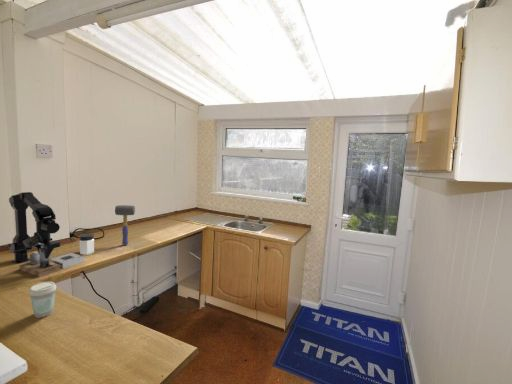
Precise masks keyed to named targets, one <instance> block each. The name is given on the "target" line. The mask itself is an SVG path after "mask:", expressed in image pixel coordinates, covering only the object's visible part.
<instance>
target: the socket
mask: <svg viewBox="0 0 512 384" xmlns="http://www.w3.org/2000/svg"><path fill="white" fill-rule="evenodd" d="M49 262H53V263H56V264H59V265H60V269H65V268H68V267H71V266H74V265H76V264H77V265H78V264H81V263H83V262H85V255H84V256H83V255H81V254H77V253H73V252H70V253H65V254H61V255H59V256H56V257H52V258H49Z"/></svg>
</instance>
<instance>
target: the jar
mask: <svg viewBox="0 0 512 384" xmlns="http://www.w3.org/2000/svg"><path fill="white" fill-rule="evenodd" d="M78 237H79V238H78V239H79V255H80V256H83V255H84V256H85V255H86V256H89V255H91V254H93V253H94V254H95V234H94V233H83V234H80V235H78Z"/></svg>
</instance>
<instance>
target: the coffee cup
mask: <svg viewBox="0 0 512 384" xmlns="http://www.w3.org/2000/svg"><path fill="white" fill-rule="evenodd" d="M56 290H57V285H56V283H55V282H54V281H42V282H39V283H36V284H34V285H32V286H31V287H30V289H29V292H28V295H29V296H30V300H31V304H32V305H31V306H32V310H33V315H34V318H36V319H40V318H41V317H42V318H45V316H46V317H49V316H51V314H53V312H54V307H55V306H54V305H55V299H56V298H55V297H56Z"/></svg>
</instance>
